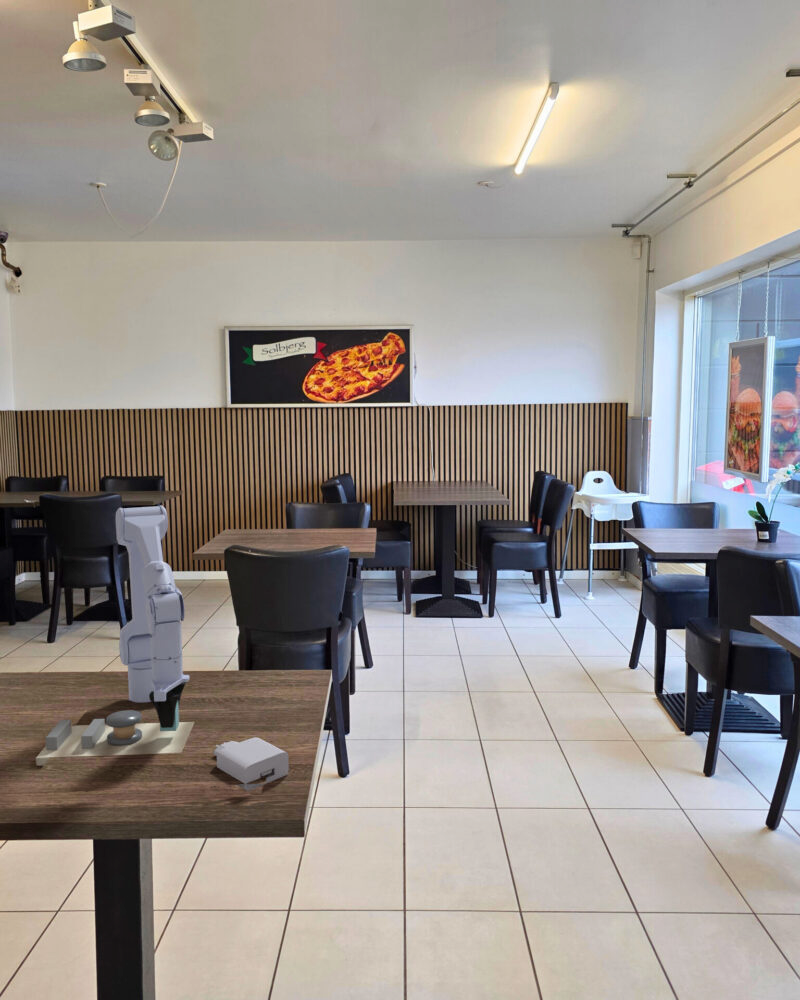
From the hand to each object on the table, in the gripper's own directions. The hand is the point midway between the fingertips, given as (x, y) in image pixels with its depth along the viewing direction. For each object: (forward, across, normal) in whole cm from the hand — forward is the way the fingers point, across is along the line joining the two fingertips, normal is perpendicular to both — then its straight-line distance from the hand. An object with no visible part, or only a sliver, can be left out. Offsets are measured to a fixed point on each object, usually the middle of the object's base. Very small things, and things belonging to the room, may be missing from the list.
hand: (169, 723), depth 151 cm
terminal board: (+4, 0, +10) cm, 10 cm away
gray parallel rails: (+3, 0, +18) cm, 18 cm away
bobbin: (+3, 0, +9) cm, 9 cm away
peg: (+1, 0, 0) cm, 1 cm away
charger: (+5, -11, -15) cm, 20 cm away
